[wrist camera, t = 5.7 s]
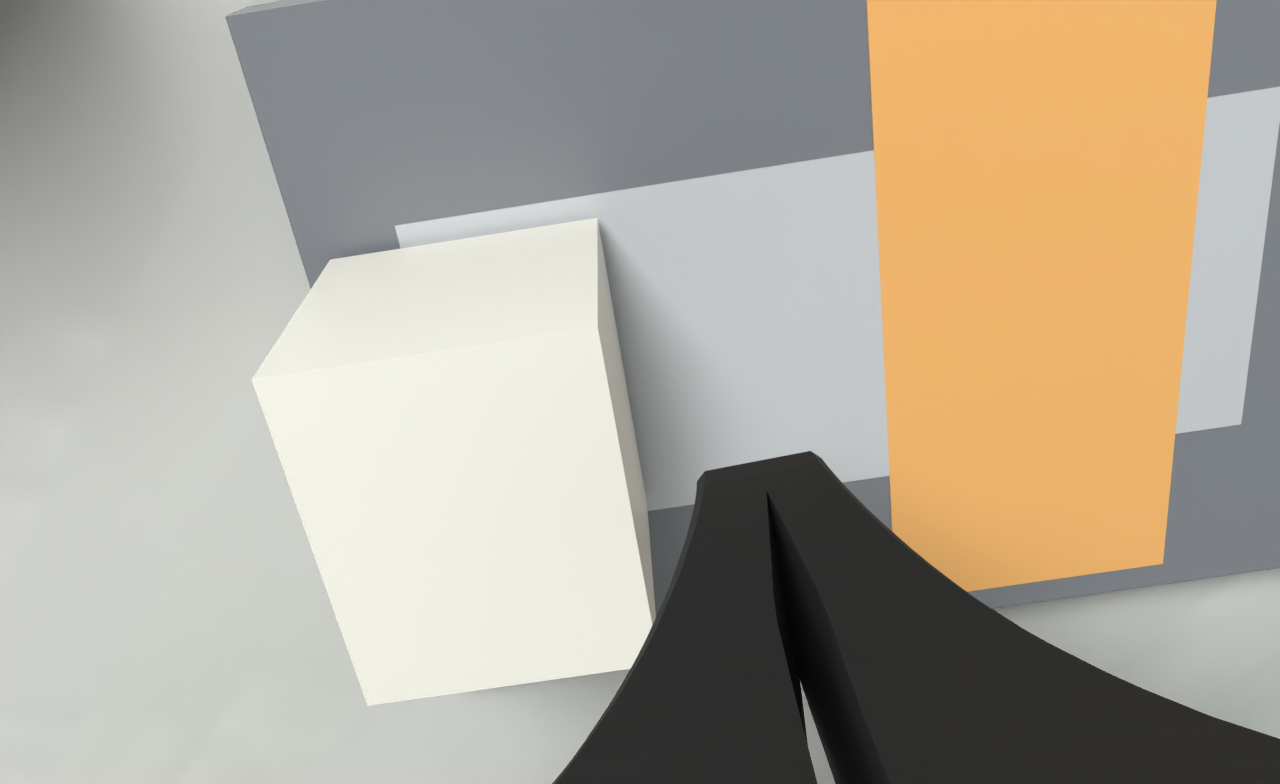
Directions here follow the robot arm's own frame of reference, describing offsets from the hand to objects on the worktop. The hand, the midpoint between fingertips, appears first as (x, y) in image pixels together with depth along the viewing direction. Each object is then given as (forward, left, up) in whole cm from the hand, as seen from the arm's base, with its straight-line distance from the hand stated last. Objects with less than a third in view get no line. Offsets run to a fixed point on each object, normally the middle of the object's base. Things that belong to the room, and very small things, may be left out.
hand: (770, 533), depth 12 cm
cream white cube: (+4, 0, -5) cm, 6 cm away
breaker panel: (-2, 0, -6) cm, 7 cm away
